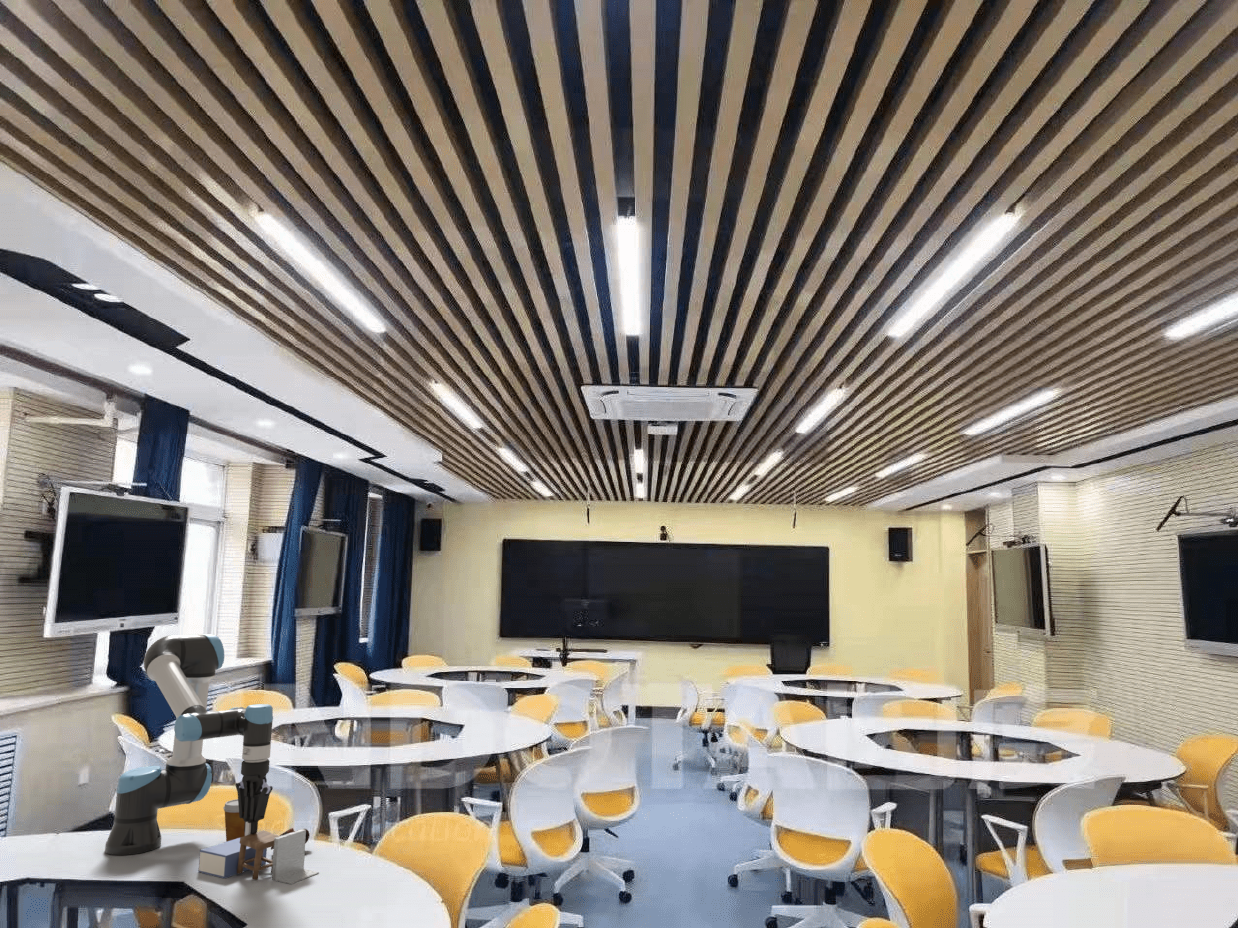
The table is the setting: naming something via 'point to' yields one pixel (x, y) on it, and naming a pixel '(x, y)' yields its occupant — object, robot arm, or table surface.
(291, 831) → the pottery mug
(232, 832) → the disposable coffee cup
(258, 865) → the stool
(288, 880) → the bookend
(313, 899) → the table surface
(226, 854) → the book
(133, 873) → the table surface
